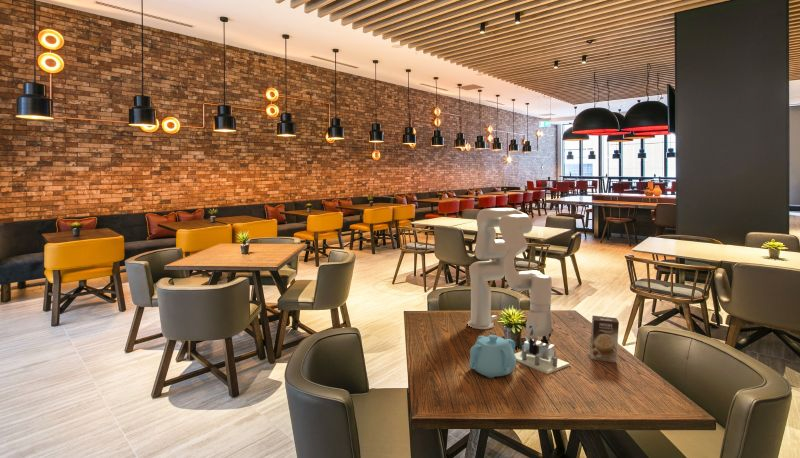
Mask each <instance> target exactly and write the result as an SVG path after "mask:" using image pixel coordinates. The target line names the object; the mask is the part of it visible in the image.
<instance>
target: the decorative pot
mask: <svg viewBox="0 0 800 458" xmlns="http://www.w3.org/2000/svg"><path fill="white" fill-rule="evenodd" d="M475 341H476V342H474V343H475V344H474V345H472V346H471V348H470V349H469V354H470V357H469V363H468V366H469V369H472V370H475V372H477V373H479V374H480V375H483V376H485V377H487V378H488V379H493V378H495V377H503V376H508V375H509V374H511V373H512V372H513V371H514V370H515V368H516V366H517V361H516V357H515V355H514V354H515V348H516V343H515V341H514V340H512V339H510V338H506V339H505V338H503V337H501V336H498V335H495V334H490V335H488V336H485V335H479V336H478V337H477V338H476V340H475Z"/></svg>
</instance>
